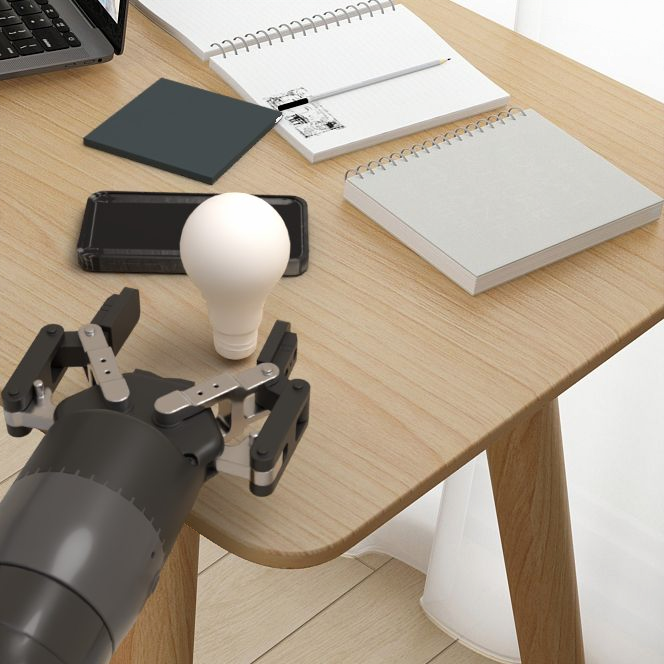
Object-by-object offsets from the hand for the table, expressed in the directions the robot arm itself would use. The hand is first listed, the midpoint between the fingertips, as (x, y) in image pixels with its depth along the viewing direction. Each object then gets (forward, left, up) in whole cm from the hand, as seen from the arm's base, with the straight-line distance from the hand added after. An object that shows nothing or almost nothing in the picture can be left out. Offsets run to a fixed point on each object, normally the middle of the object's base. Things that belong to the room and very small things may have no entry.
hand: (207, 316), depth 64 cm
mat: (-17, +26, -7) cm, 31 cm away
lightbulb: (-1, +5, -7) cm, 8 cm away
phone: (-9, +14, -7) cm, 17 cm away
